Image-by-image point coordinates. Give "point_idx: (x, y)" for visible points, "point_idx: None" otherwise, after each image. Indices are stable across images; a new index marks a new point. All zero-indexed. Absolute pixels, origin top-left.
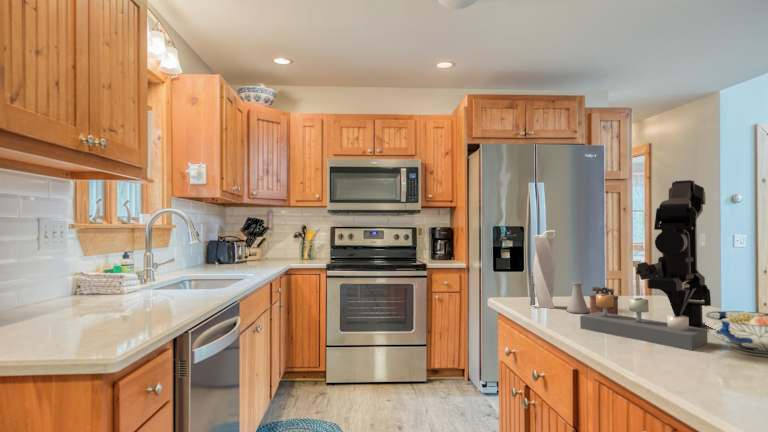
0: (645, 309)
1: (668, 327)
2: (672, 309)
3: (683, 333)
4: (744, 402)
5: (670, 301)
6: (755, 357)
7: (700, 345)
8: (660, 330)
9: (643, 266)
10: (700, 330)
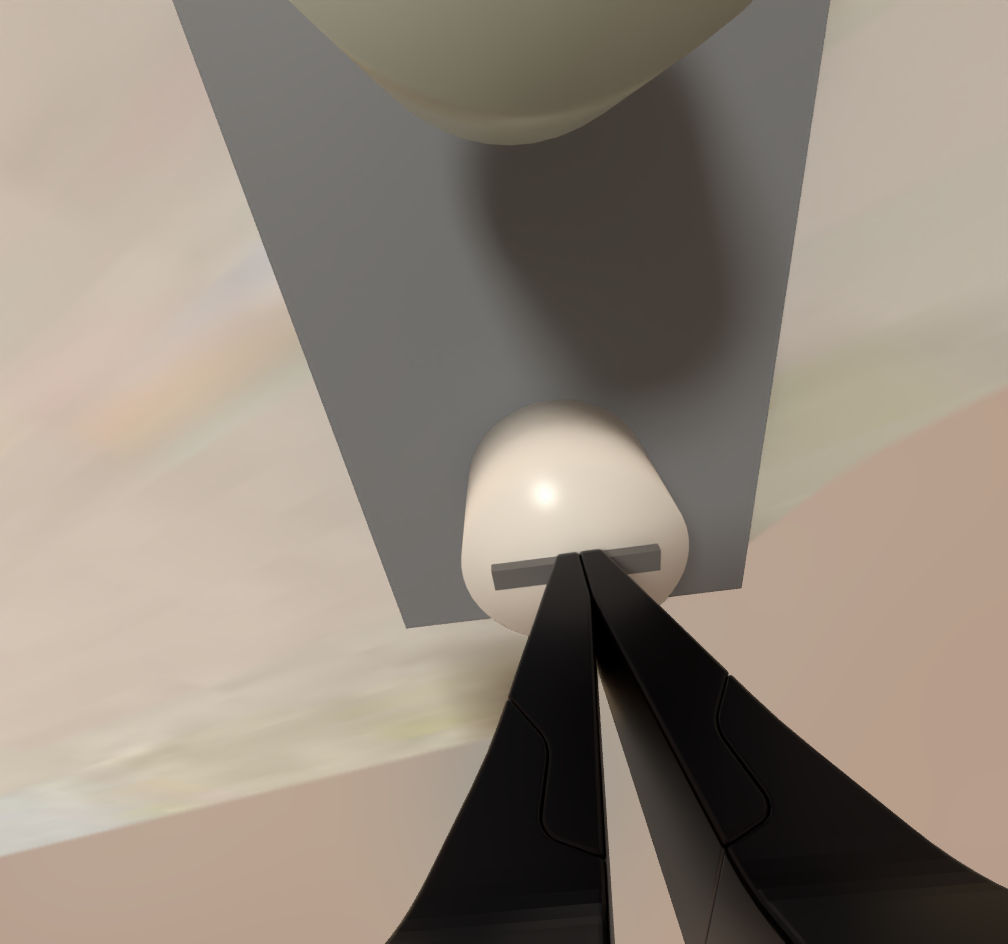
0: (457, 128)
1: (479, 445)
2: (543, 602)
3: (413, 582)
4: (40, 824)
5: (502, 730)
6: None
7: None
8: (338, 439)
9: None
10: None
